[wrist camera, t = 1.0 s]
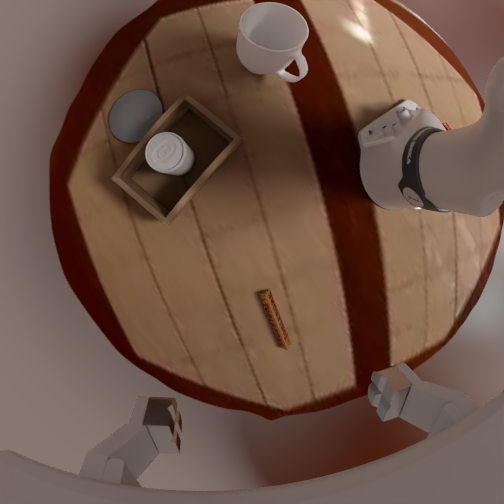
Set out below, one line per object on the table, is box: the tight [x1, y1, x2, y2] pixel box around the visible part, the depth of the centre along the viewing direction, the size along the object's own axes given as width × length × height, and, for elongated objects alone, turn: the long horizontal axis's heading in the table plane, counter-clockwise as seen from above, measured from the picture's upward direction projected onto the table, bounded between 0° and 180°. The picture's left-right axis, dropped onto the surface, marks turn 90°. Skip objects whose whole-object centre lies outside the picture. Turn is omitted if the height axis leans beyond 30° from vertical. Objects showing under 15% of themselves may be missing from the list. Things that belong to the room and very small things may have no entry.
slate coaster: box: [109, 89, 163, 143], centre depth 37 cm, size 9×9×1 cm
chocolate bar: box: [258, 289, 291, 351], centre depth 47 cm, size 3×12×2 cm, turn 21°
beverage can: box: [145, 132, 195, 176], centre depth 34 cm, size 5×5×12 cm
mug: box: [236, 2, 309, 82], centre depth 32 cm, size 12×9×12 cm
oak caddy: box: [111, 92, 242, 226], centre depth 37 cm, size 16×11×6 cm
